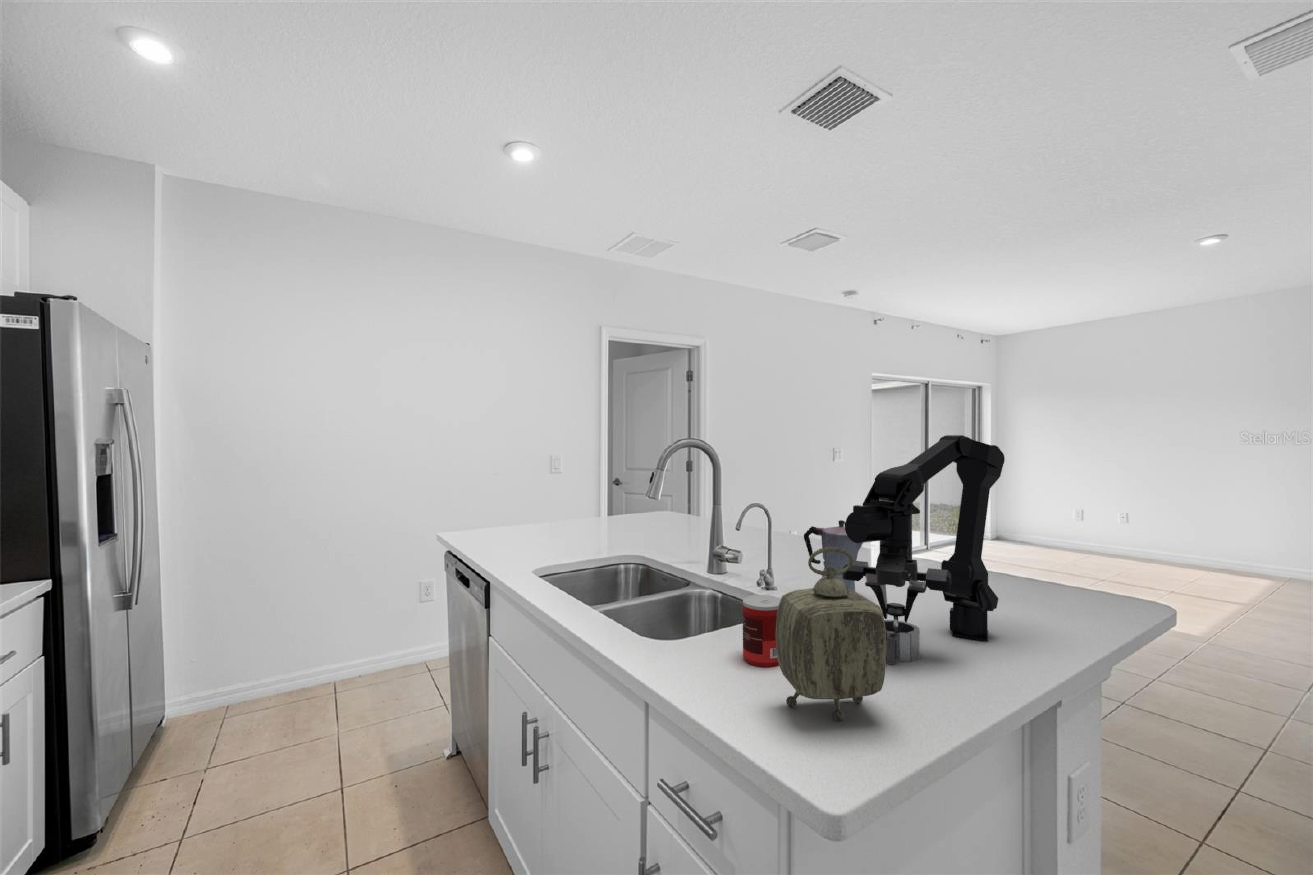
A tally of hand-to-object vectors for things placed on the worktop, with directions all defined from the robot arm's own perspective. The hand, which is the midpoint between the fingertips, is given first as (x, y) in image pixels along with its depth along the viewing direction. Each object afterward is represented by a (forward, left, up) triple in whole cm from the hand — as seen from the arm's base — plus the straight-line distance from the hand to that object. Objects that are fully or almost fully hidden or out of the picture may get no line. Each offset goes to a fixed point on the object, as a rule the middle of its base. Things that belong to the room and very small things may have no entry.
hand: (895, 620), depth 111 cm
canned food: (+21, +15, -6) cm, 27 cm away
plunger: (0, 0, -6) cm, 6 cm away
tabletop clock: (+5, +30, -6) cm, 31 cm away
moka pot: (+18, -30, -6) cm, 36 cm away
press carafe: (0, +1, -6) cm, 6 cm away
